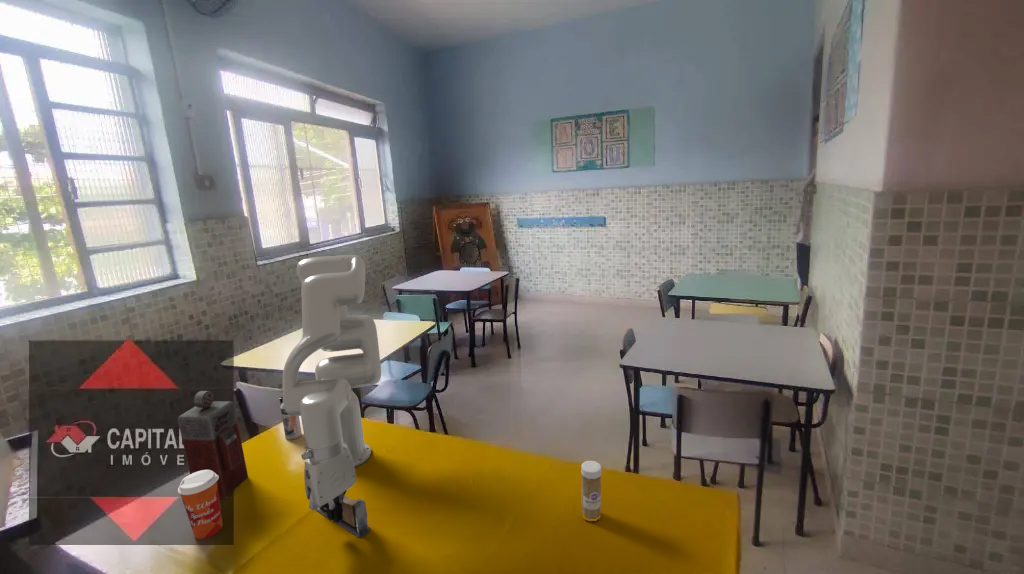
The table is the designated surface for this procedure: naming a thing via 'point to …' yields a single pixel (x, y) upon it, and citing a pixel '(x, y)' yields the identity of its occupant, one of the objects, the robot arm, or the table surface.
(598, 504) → the sprinkles bottle
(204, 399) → the vintage gas pump
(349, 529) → the gate posts
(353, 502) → the gate
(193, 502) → the paper cup
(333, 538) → the table surface
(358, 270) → the robot arm
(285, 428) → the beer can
